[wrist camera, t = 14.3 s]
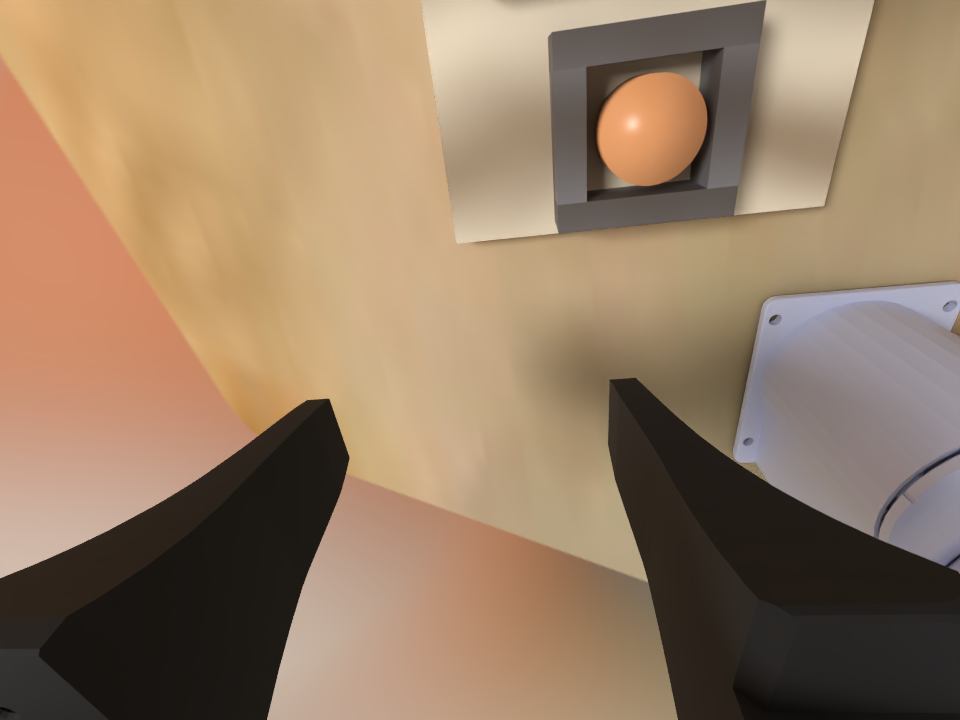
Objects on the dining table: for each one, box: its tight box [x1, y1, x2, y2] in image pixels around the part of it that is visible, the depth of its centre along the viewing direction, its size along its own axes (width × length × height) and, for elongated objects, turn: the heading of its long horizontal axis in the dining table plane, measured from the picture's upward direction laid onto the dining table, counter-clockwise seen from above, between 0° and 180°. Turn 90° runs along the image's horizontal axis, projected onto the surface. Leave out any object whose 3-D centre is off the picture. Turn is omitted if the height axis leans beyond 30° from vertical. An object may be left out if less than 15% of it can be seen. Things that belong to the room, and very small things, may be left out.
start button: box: [594, 72, 707, 186], centre depth 15 cm, size 3×3×2 cm
